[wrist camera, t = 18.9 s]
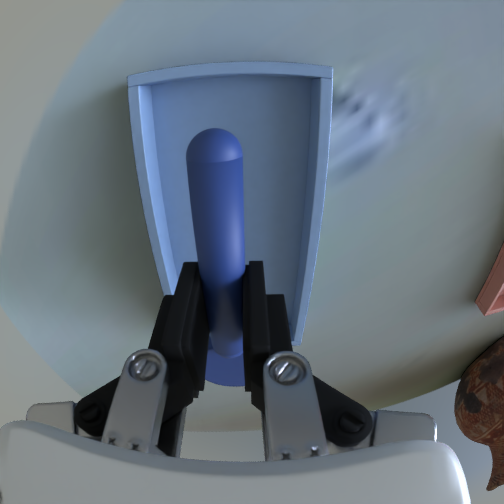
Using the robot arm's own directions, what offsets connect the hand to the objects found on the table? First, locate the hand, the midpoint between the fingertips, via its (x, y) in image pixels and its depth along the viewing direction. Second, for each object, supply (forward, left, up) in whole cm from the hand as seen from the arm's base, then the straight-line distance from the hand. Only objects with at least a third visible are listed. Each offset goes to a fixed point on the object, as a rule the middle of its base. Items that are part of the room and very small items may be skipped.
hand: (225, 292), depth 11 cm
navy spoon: (0, 0, 0) cm, 0 cm away
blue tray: (0, 0, -7) cm, 7 cm away
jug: (+26, +44, -7) cm, 52 cm away
